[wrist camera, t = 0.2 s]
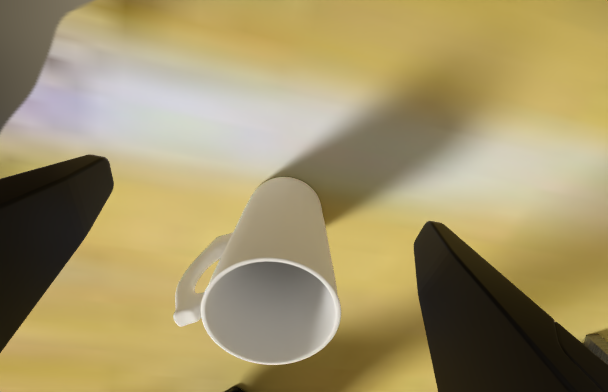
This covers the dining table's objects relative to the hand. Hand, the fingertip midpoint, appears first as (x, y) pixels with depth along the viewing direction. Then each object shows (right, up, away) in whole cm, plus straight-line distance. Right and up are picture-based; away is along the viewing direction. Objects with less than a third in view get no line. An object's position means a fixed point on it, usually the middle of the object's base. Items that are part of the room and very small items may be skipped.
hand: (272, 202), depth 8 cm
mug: (-2, -1, +18) cm, 18 cm away
